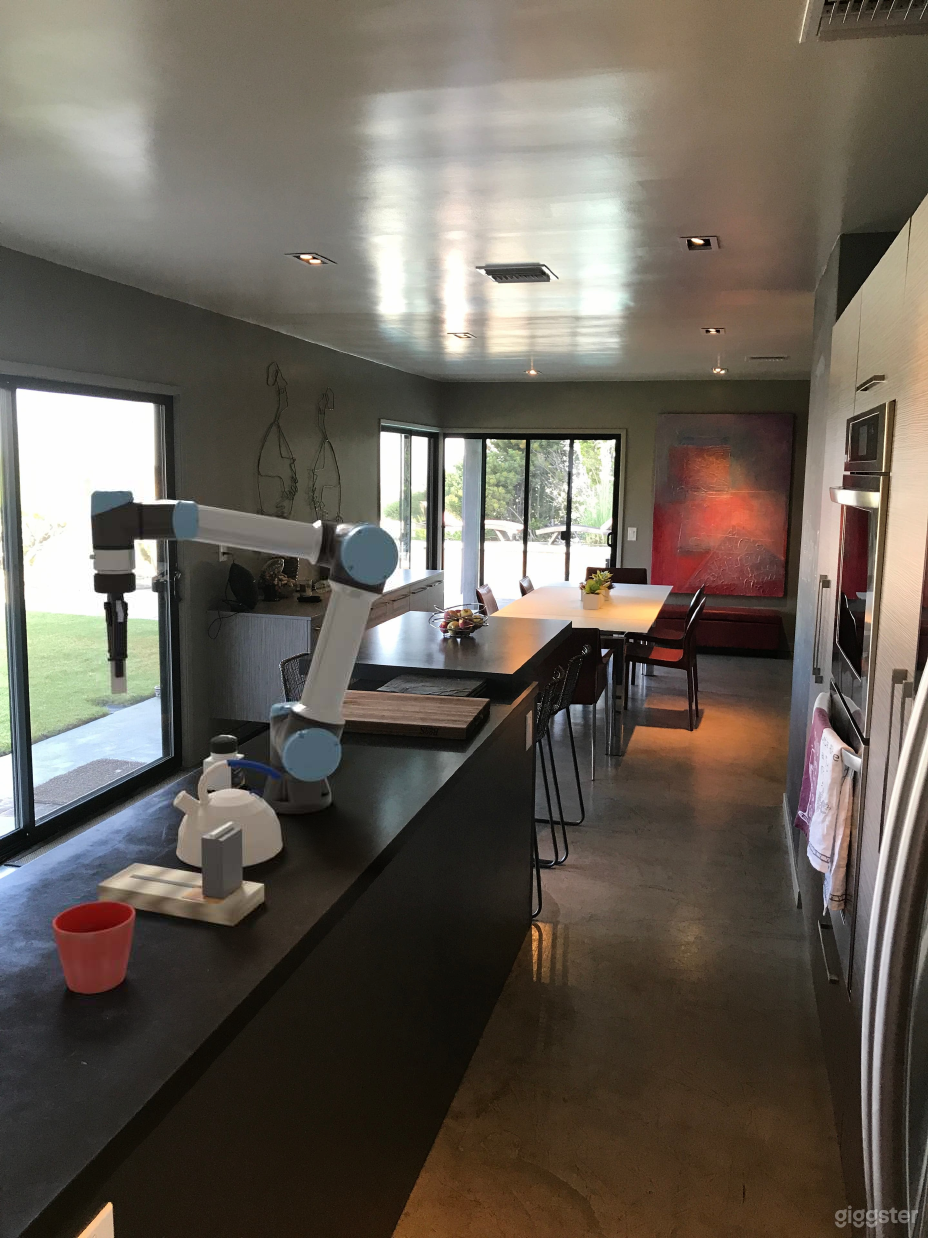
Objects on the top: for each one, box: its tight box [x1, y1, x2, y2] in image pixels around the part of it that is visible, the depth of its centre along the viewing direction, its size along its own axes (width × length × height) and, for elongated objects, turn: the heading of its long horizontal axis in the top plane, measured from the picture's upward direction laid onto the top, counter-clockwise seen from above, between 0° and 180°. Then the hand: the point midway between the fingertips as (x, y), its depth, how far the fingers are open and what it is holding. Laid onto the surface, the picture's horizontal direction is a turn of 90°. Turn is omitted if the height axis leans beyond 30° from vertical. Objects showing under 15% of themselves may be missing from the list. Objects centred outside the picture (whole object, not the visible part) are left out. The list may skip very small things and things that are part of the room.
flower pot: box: [51, 901, 136, 994], centre depth 134 cm, size 11×11×10 cm
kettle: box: [173, 759, 283, 868], centre depth 183 cm, size 20×21×18 cm
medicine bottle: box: [202, 734, 246, 792], centre depth 220 cm, size 7×7×12 cm
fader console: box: [97, 862, 265, 927], centre depth 160 cm, size 26×10×3 cm, turn 73°
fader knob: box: [201, 822, 244, 899], centre depth 157 cm, size 4×6×11 cm, turn 162°
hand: (119, 692), depth 182 cm, fingers closed
